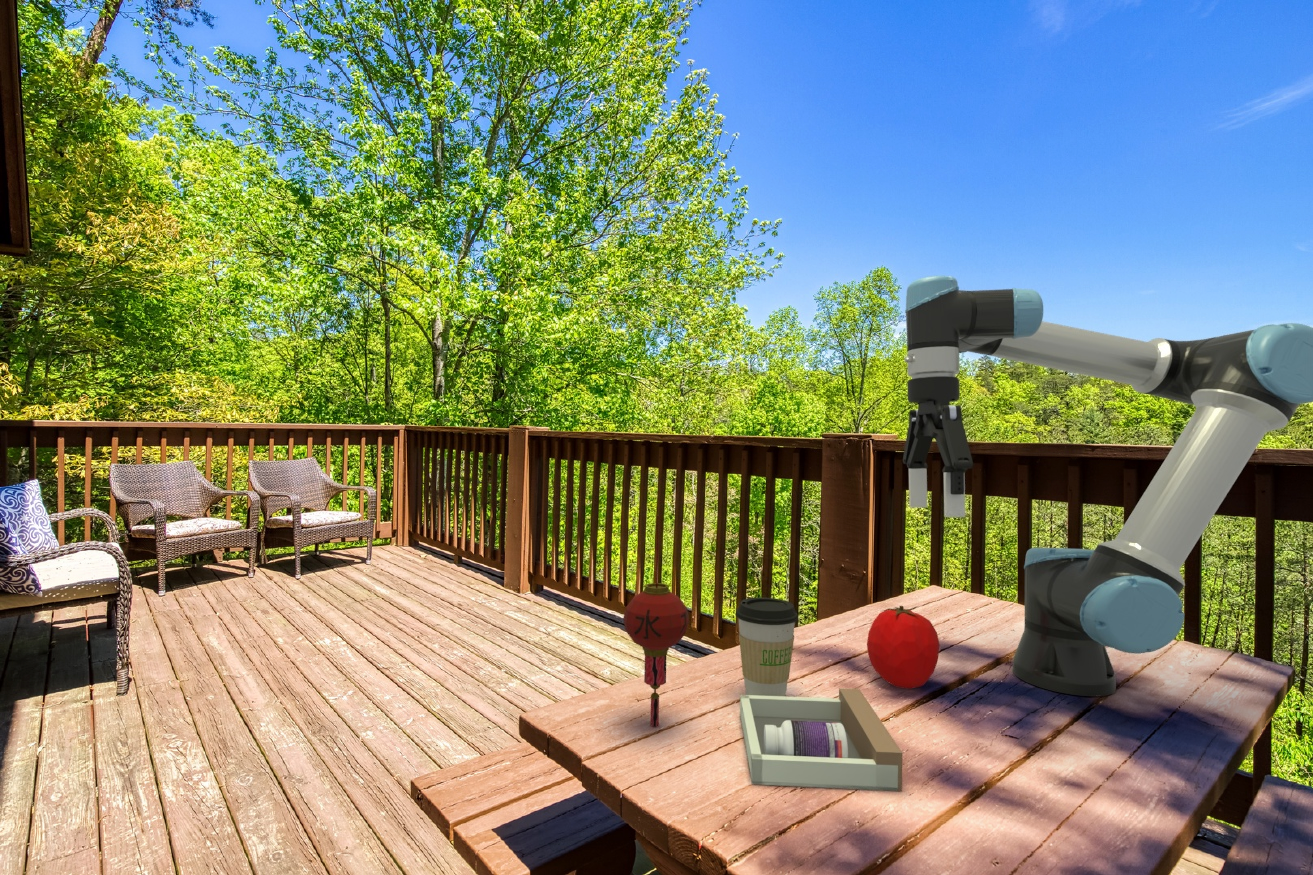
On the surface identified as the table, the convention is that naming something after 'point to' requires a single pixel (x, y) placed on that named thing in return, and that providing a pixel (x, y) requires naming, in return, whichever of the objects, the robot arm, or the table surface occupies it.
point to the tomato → (903, 647)
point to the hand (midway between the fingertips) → (935, 511)
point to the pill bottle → (806, 739)
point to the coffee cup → (766, 644)
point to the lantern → (656, 630)
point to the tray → (865, 768)
